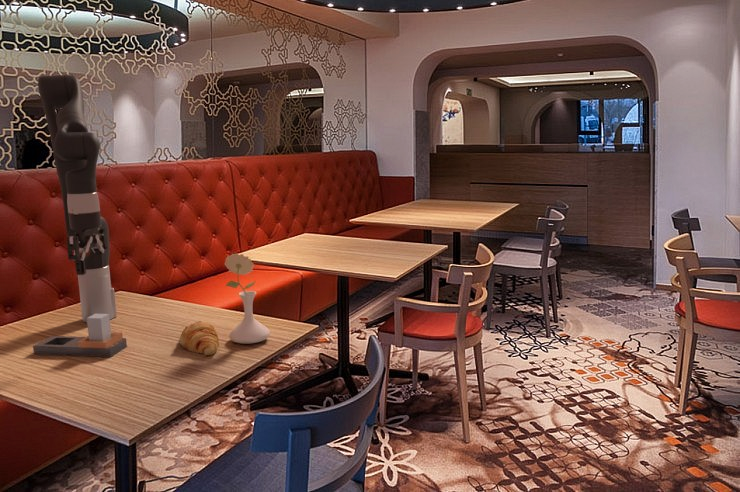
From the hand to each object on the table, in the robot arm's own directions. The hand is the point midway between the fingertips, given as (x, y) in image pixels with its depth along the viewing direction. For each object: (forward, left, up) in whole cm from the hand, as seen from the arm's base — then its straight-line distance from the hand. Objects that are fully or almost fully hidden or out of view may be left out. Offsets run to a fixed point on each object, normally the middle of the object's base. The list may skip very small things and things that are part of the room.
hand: (90, 270), depth 157 cm
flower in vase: (-29, +27, -23) cm, 46 cm away
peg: (0, +1, -22) cm, 22 cm away
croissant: (-18, +20, -23) cm, 35 cm away
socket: (+3, -4, -22) cm, 23 cm away
